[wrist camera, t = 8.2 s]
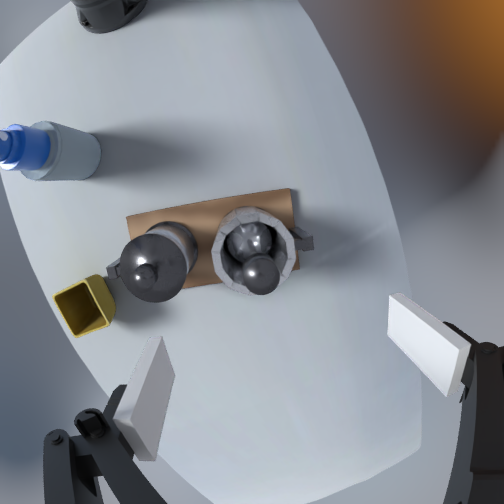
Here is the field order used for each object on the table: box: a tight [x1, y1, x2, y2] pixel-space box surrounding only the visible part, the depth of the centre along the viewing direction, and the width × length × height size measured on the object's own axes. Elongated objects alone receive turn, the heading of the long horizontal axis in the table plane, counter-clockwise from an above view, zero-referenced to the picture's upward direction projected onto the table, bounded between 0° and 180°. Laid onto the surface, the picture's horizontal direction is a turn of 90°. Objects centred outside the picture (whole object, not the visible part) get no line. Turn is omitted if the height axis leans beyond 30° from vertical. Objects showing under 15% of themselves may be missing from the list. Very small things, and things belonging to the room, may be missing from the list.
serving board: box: [126, 188, 300, 288], centre depth 49 cm, size 14×28×2 cm, turn 99°
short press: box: [106, 221, 198, 303], centre depth 40 cm, size 10×13×16 cm
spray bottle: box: [0, 121, 101, 181], centre depth 32 cm, size 9×9×25 cm
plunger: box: [227, 221, 280, 295], centre depth 36 cm, size 7×7×19 cm
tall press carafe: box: [211, 206, 314, 296], centre depth 42 cm, size 10×13×13 cm
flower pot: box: [52, 274, 116, 338], centre depth 46 cm, size 9×9×9 cm
